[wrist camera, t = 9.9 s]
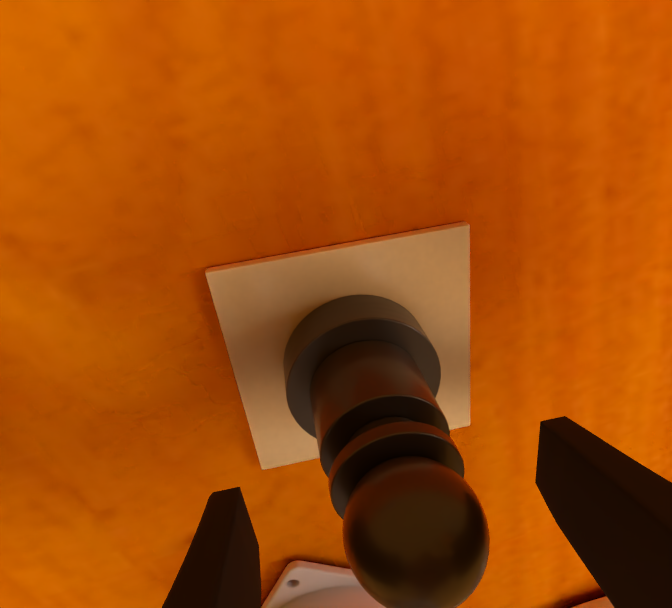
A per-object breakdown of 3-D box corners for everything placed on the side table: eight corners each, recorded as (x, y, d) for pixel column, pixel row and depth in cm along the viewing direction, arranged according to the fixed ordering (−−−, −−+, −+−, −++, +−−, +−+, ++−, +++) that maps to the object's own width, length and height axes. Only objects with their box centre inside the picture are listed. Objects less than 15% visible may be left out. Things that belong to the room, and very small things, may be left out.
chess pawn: (383, 430, 17) (473, 686, 10) (260, 394, 16) (264, 666, 9) (450, 322, 16) (616, 538, 8) (320, 271, 14) (387, 481, 7)
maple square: (466, 419, 18) (470, 426, 18) (261, 462, 18) (261, 470, 17) (465, 220, 14) (470, 224, 14) (205, 267, 14) (204, 272, 14)
